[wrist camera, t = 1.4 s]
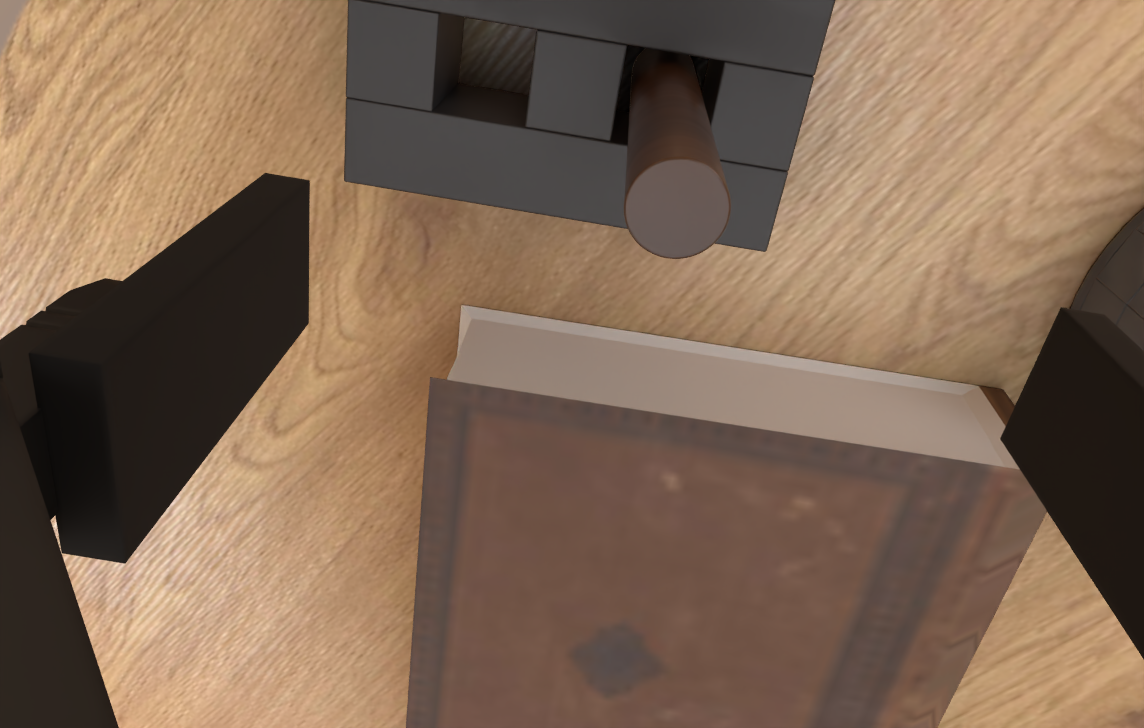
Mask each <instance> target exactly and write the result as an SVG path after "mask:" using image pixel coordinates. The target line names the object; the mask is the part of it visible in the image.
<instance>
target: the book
mask: <svg viewBox="0 0 1144 728" xmlns="http://www.w3.org/2000/svg"><path fill="white" fill-rule="evenodd" d="M1014 407H1015V406H1014V404H1013V403H1012V401H1011V400H1010V399H1009V397H1008V396H1007V394H1006V393H1005V392H1004V390H1002V389H996V388H989V387H983V386H976V385H970V384H964V383H957V382H951V381H944V380H938V379H932V378H925V377H919V376H913V375H906V374H900V373H893V372H887V371H881V370H874V369H868V368H861V367H855V366H849V365H842V364H836V363H830V362H823V361H817V360H810V359H804V358H798V357H791V356H785V355H778V354H772V353H766V352H759V351H753V350H747V349H740V348H734V347H727V346H721V345H715V344H708V343H702V342H695V341H689V340H683V339H676V338H670V337H664V336H657V335H651V334H644V333H638V332H632V331H625V330H619V329H612V328H606V327H600V326H593V325H587V324H581V323H574V322H568V321H561V320H555V319H549V318H542V317H536V316H529V315H523V314H517V313H510V312H504V311H498V310H491V309H485V308H478V307H472V306H466V305H461V316H460V328H459V340H458V351H457V357H456V360H455V362H454V365H453V366H452V368H451V370H450V372H449V375H448V377H447V380H445V379H438V378H432V377H430V386H429V401H428V415H427V430H426V444H425V459H424V473H423V488H422V502H421V517H420V531H419V546H418V560H417V575H416V589H415V604H414V618H413V633H412V647H411V662H410V676H409V690H408V705H407V719H406V728H937V727H938V725H939V723H940V721H941V719H942V717H943V715H944V713H945V711H946V709H947V707H948V705H949V703H950V701H951V699H952V697H953V696H954V694H955V692H956V690H957V688H958V686H959V684H960V682H961V680H962V678H963V676H964V674H965V672H966V670H967V668H968V666H969V664H970V662H971V660H972V658H973V656H974V654H975V652H976V650H977V648H978V646H979V644H980V642H981V640H982V638H983V636H984V634H985V632H986V630H987V629H988V627H989V625H990V623H991V621H992V619H993V617H994V615H995V613H996V611H997V609H998V607H999V605H1000V603H1001V601H1002V599H1003V597H1004V595H1005V593H1006V591H1007V589H1008V587H1009V585H1010V583H1011V581H1012V579H1013V577H1014V575H1015V573H1016V571H1017V569H1018V567H1019V565H1020V564H1021V562H1022V560H1023V558H1024V556H1025V554H1026V552H1027V550H1028V548H1029V546H1030V544H1031V542H1032V540H1033V538H1034V536H1035V534H1036V532H1037V530H1038V528H1039V526H1040V524H1041V522H1042V520H1043V518H1044V516H1045V514H1046V512H1047V510H1046V509H1045V507H1044V506H1043V504H1042V502H1041V501H1040V499H1039V498H1038V496H1037V495H1036V493H1035V492H1034V490H1033V489H1032V487H1031V486H1030V484H1029V483H1028V481H1027V479H1026V478H1025V476H1024V475H1023V473H1022V472H1021V470H1020V469H1019V467H1018V466H1017V464H1016V463H1015V461H1014V460H1013V458H1012V456H1011V455H1010V453H1009V452H1008V450H1007V449H1006V447H1005V446H1004V444H1003V443H1002V441H1001V440H1000V438H1001V435H1002V433H1003V431H1004V429H1005V427H1006V425H1007V423H1008V420H1009V418H1010V416H1011V414H1012V412H1013V410H1014Z"/></svg>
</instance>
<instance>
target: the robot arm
mask: <svg viewBox="0 0 1144 728" xmlns="http://www.w3.org/2000/svg"><path fill="white" fill-rule="evenodd" d="M309 194H310V180H304V179H298V178H292V177H286V176H280V175H274V174H268V173H265V174H263V175H262V176H261V177H259V178H258V179H257V180H255V181H254V182H253V183H251V184H250V185H249V186H247V187H246V188H245V189H244V190H242V191H241V192H240V193H238V194H237V195H236V196H234V197H233V198H232V199H230V200H229V201H228V202H226V203H225V204H224V205H222V206H221V207H220V208H218V209H217V210H216V211H215V212H213V213H212V214H211V215H209V216H208V217H207V218H205V219H204V220H203V221H201V222H200V223H199V224H197V225H196V226H195V227H193V228H192V229H191V230H189V231H188V232H187V233H186V234H184V235H183V236H182V237H180V238H179V239H178V240H176V241H175V242H174V243H172V244H171V245H170V246H168V247H167V248H166V249H164V250H163V251H162V252H160V253H159V254H158V255H157V256H155V257H154V258H153V259H151V260H150V261H149V262H147V263H146V264H145V265H143V266H142V267H141V268H139V269H138V270H137V271H135V272H134V273H133V274H131V275H130V276H129V277H128V278H126V279H125V280H124V281H118V280H112V279H106V278H105V279H102V280H99V281H96V282H93V283H90V284H87V285H85V286H82V287H79V288H76V289H73V290H70V291H69V292H67V293H66V294H64V295H63V296H62V297H60V298H59V299H57V300H56V301H54V302H53V303H52V304H50V305H49V306H47V307H46V311H40V312H39V313H37V314H36V315H35V316H33V317H32V318H30V319H29V320H28V321H27V323H26V325H20V326H19V327H18V328H16V329H15V330H13V331H12V332H10V333H9V334H8V335H6V336H5V337H3V338H2V339H1V340H0V728H119V727H118V724H117V721H116V718H115V715H114V712H113V709H112V706H111V703H110V700H109V697H108V694H107V691H106V688H105V685H104V681H103V678H102V675H101V672H100V669H99V666H98V663H97V660H96V657H95V654H94V651H93V648H92V645H91V642H90V639H89V636H88V633H87V630H86V627H85V624H84V621H83V618H82V615H81V612H80V609H79V606H78V603H77V600H76V597H75V593H74V590H73V587H72V584H71V581H70V578H69V575H68V572H67V569H66V566H65V563H64V560H63V557H62V554H61V551H62V553H64V554H70V555H76V556H83V557H89V558H95V559H101V560H107V561H113V562H119V563H126V562H127V561H128V559H129V558H130V557H131V555H132V554H133V553H134V551H135V550H136V549H137V547H138V546H139V545H140V543H141V542H142V541H143V540H144V538H145V537H146V536H147V534H148V533H149V532H150V530H151V529H152V528H153V526H154V525H155V524H156V523H157V521H158V520H159V519H160V517H161V516H162V515H163V513H164V512H165V511H166V509H167V508H168V507H169V506H170V504H171V503H172V502H173V500H174V499H175V498H176V496H177V495H178V494H179V492H180V491H181V490H182V488H183V487H184V486H185V485H186V483H187V482H188V481H189V479H190V478H191V477H192V475H193V474H194V473H195V471H196V470H197V469H198V468H199V466H200V465H201V464H202V462H203V461H204V460H205V458H206V457H207V456H208V454H209V453H210V452H211V450H212V449H213V448H214V447H215V445H216V444H217V443H218V441H219V440H220V439H221V437H222V436H223V435H224V433H225V432H226V431H227V430H228V428H229V427H230V426H231V424H232V423H233V422H234V420H235V419H236V418H237V416H238V415H239V414H240V412H241V411H242V410H243V409H244V407H245V406H246V405H247V403H248V402H249V401H250V399H251V398H252V397H253V395H254V394H255V393H256V392H257V390H258V389H259V388H260V386H261V385H262V384H263V382H264V381H265V380H266V378H267V377H268V376H269V375H270V373H271V372H272V371H273V369H274V368H275V367H276V365H277V364H278V363H279V361H280V360H281V359H282V357H283V356H284V355H285V354H286V352H287V351H288V350H289V348H290V347H291V346H292V344H293V343H294V342H295V340H296V339H297V338H298V337H299V335H300V334H301V333H302V331H303V330H304V329H305V327H306V326H307V325H308V323H309ZM1000 440H1001V441H1002V443H1003V444H1004V446H1005V447H1006V449H1007V450H1008V452H1009V453H1010V455H1011V456H1012V458H1013V460H1014V461H1015V463H1016V464H1017V466H1018V467H1019V469H1020V470H1021V472H1022V473H1023V475H1024V476H1025V478H1026V479H1027V481H1028V483H1029V484H1030V486H1031V487H1032V489H1033V490H1034V492H1035V493H1036V495H1037V496H1038V498H1039V499H1040V501H1041V502H1042V504H1043V506H1044V507H1045V509H1046V510H1047V512H1048V513H1049V515H1050V516H1051V518H1052V519H1053V521H1054V522H1055V524H1056V525H1057V527H1058V529H1059V530H1060V532H1061V533H1062V535H1063V536H1064V538H1065V539H1066V541H1067V542H1068V544H1069V545H1070V547H1071V548H1072V550H1073V552H1074V553H1075V555H1076V556H1077V558H1078V559H1079V561H1080V562H1081V564H1082V565H1083V567H1084V568H1085V570H1086V571H1087V573H1088V575H1089V576H1090V578H1091V579H1092V581H1093V582H1094V584H1095V585H1096V587H1097V588H1098V590H1099V591H1100V593H1101V594H1102V596H1103V598H1104V599H1105V601H1106V602H1107V604H1108V605H1109V607H1110V608H1111V610H1112V611H1113V613H1114V614H1115V616H1116V617H1117V619H1118V621H1119V622H1120V624H1121V625H1122V627H1123V628H1124V630H1125V631H1126V633H1127V634H1128V636H1129V637H1130V639H1131V640H1132V642H1133V643H1134V645H1135V647H1136V648H1137V650H1138V651H1139V653H1140V654H1141V656H1142V657H1143V659H1144V351H1143V350H1142V349H1141V348H1140V347H1139V346H1138V345H1137V344H1136V343H1135V342H1134V341H1132V340H1131V339H1130V338H1129V337H1128V336H1127V335H1126V334H1125V333H1124V332H1123V331H1122V330H1121V329H1119V328H1118V327H1117V326H1116V325H1115V324H1114V323H1113V322H1112V321H1111V320H1110V319H1109V318H1107V317H1106V316H1105V315H1103V314H1097V313H1091V312H1086V311H1080V310H1074V309H1068V308H1062V307H1061V309H1060V311H1059V313H1058V315H1057V317H1056V319H1055V321H1054V324H1053V326H1052V328H1051V330H1050V332H1049V334H1048V336H1047V339H1046V341H1045V343H1044V345H1043V347H1042V349H1041V352H1040V354H1039V356H1038V358H1037V360H1036V362H1035V364H1034V367H1033V369H1032V371H1031V373H1030V375H1029V377H1028V380H1027V382H1026V384H1025V386H1024V388H1023V390H1022V392H1021V395H1020V397H1019V399H1018V401H1017V403H1016V405H1015V407H1014V410H1013V412H1012V414H1011V416H1010V418H1009V420H1008V423H1007V425H1006V427H1005V429H1004V431H1003V433H1002V435H1001V438H1000ZM55 515H56V521H57V527H58V533H59V539H60V545H61V551H60V548H59V545H58V542H57V539H56V536H55V533H54V530H53V527H52V524H51V521H50V520H51V519H52V518H53V517H54V516H55Z"/></svg>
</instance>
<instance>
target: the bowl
mask: <svg viewBox="0 0 1144 728" xmlns="http://www.w3.org/2000/svg"><path fill="white" fill-rule="evenodd" d="M1071 309H1074V310H1080V311H1086V312H1091V313H1097V314H1103V315H1105V316H1106V317H1107V318H1109V319H1110V320H1111V321H1112V322H1113V323H1114V324H1115V325H1116V326H1117V327H1118V328H1119V329H1121V330H1122V331H1123V332H1124V333H1125V334H1126V335H1127V336H1128V337H1129V338H1130V339H1131V340H1132V341H1134V342H1135V343H1136V344H1137V345H1138V346H1139V347H1140V348H1141V349H1142V350H1143V351H1144V208H1143V209H1142V210H1141V211H1140V212H1139V213H1138V214H1137V215H1136V216H1135V217H1133V218H1132V219H1131V220H1130V221H1129V222H1128V223H1127V224H1126V225H1125V226H1124V227H1123V229H1122V230H1121V231H1120V232H1119V233H1118V234H1117V235H1116V236H1115V238H1114V239H1113V240H1112V241H1111V242H1110V243H1109V244H1108V245H1107V247H1106V248H1105V249H1104V251H1103V252H1102V254H1101V255H1100V256H1099V258H1098V259H1097V261H1096V262H1095V263H1094V265H1093V266H1092V268H1091V269H1090V270H1089V272H1088V274H1087V276H1086V278H1085V279H1084V281H1083V283H1082V285H1081V287H1080V289H1079V290H1078V292H1077V294H1076V296H1075V298H1074V301H1073V303H1072V306H1071Z"/></svg>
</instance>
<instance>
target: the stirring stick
mask: <svg viewBox="0 0 1144 728" xmlns="http://www.w3.org/2000/svg"><path fill="white" fill-rule="evenodd" d="M730 212H731V201H730V195H729V191H728V187H727V183H726V180H725V176H724V173H723V169H722V165H721V162H720V158H719V155H718V151H717V147H716V144H715V140H714V137H713V133H712V129H711V126H710V122H709V119H708V115H707V111H706V108H705V104H704V101H703V97H702V93H701V90H700V86H699V82H698V79H697V75H696V72H695V68H694V64H693V62H692V59H691V57H690V56H689V55H684V54H678V53H673V52H667V51H661V50H655V49H649V48H645V49H644V50H643V51H642V52H641V53H640V54H639V55H638V57H637V58H636V60H635V62H634V65H633V69H632V79H631V95H630V112H629V129H628V145H627V162H626V178H625V195H624V217H625V222H626V225H627V228H628V230H629V232H630V234H631V235H632V237H633V238H634V239H635V241H636V242H637V243H638V244H639V245H640V246H641V247H643V248H644V249H645V250H647V251H648V252H650V253H652V254H655V255H657V256H660V257H664V258H672V259H680V258H687V257H691V256H694V255H697V254H699V253H701V252H703V251H705V250H706V249H708V248H709V247H711V246H712V245H713V244H714V243H715V242H716V241H717V240H718V239H719V238H720V236H721V235H722V233H723V232H724V230H725V228H726V226H727V224H728V221H729V217H730Z"/></svg>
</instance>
